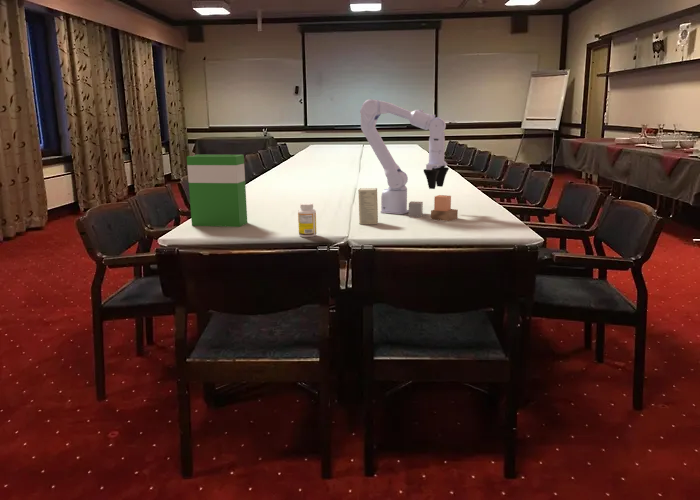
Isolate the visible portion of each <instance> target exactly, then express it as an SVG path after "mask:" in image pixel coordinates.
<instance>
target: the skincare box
mask: <svg viewBox="0 0 700 500" xmlns="http://www.w3.org/2000/svg"><path fill="white" fill-rule="evenodd" d="M378 210H379V209H378V188H377V187H371V188H369V187H368V188H367V187H366V188H365V187H363V188H362V187H361V188H359V189H358V212H359V213H358V215H359V216H358V217H359V220H358V221H359V225H377V224H378V222H379V221H378V220H379V216H378V215H379V211H378Z"/></svg>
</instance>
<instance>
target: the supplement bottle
mask: <svg viewBox="0 0 700 500" xmlns="http://www.w3.org/2000/svg"><path fill="white" fill-rule="evenodd" d="M316 213H317V210H316V209H314V203H312V202H302V203H300V209H299V210H298V212H297V215H298V216H297V217H298V220H297V221H298V235H299V237H300V238H301V237H302V238H313V237H315V236H316V235H317V214H316Z"/></svg>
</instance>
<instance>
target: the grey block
mask: <svg viewBox="0 0 700 500" xmlns="http://www.w3.org/2000/svg"><path fill="white" fill-rule="evenodd" d="M423 205H424V202H423V201H412V200H411V201H409V202H408V210H409V212H408V217H417V218H421V217H422V216H423V209H424V208H423Z"/></svg>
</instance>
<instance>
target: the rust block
mask: <svg viewBox="0 0 700 500" xmlns="http://www.w3.org/2000/svg"><path fill="white" fill-rule="evenodd" d="M433 199H434V200H433V203H434V204H433V206H434V207H433V210H435V211H448V210H451V209H452V207H451V205H452V195H443V194H439V195H435V196H434V197H433Z"/></svg>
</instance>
